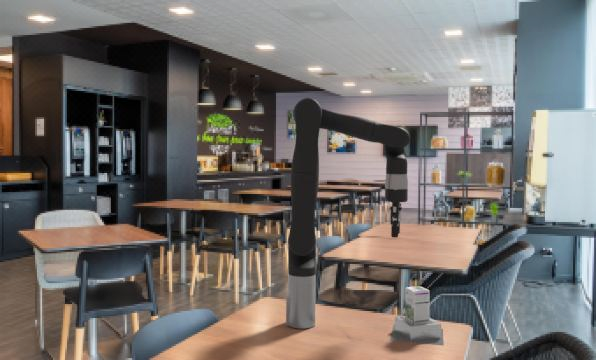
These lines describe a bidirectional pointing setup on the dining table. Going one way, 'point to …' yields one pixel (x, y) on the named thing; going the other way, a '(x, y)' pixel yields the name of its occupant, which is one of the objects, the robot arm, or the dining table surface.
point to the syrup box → (417, 305)
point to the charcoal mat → (397, 337)
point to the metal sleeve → (418, 329)
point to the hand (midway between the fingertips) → (395, 235)
